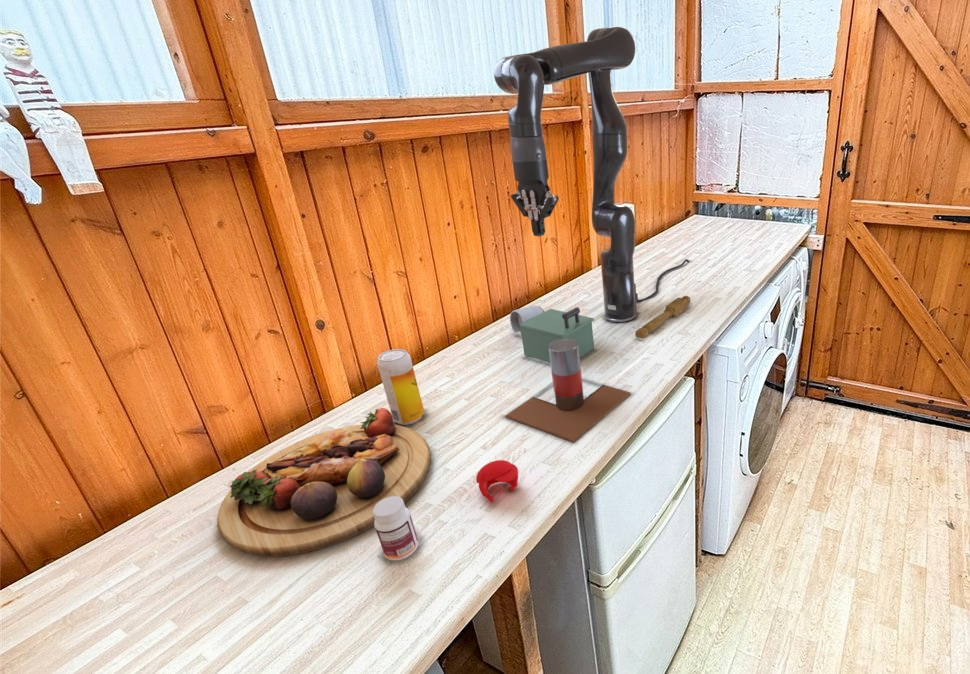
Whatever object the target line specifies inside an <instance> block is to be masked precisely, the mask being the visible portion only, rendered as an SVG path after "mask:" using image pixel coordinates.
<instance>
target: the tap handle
mask: <svg viewBox="0 0 970 674" xmlns="http://www.w3.org/2000/svg"><path fill="white" fill-rule="evenodd" d="M690 303H691V297H690V296H689V295H683V296H682V297H677V298H675V299H674V300H672V301H671V302H669V303H668V304H666V306H665V310H663V312H662V313H660V314H659V315H657V316H655V317H654V318H653V319H650V321H648V322H646V323H645V324H644V325H642V326H641V327H639V328H637V330H636V331H635V332H634V335H635V337H636V338H638V339H644V338H646V337H647V336H648V335H650V334H651V333H653V332H654V331H655V330H657V328H658V327H660V326H661V325H662V324H663V323H665V322H666V320H668V319H671V318H676V317H678V316H680V314H681V313H683V312H684V311H685V310H686V309H687V308H688V305H689V304H690Z"/></svg>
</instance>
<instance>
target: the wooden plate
mask: <svg viewBox="0 0 970 674" xmlns="http://www.w3.org/2000/svg"><path fill="white" fill-rule="evenodd" d="M359 423H360V424H355V425H348V426H344V427H339V428H334V429H331V430H327V431H323V432H321V433H317V434H315V435H311V436H309V437H306V438H304V439H301V440H299V441H296V442H294V443H292V444H290V445H289V446H286V447H285V448H282V449H281V450H278V451H277V452H275V453H272V454H271V455H270V456H269V457H267V458H265V459H264V460H262V461H260V462H259V463H258V464H256V465H255V466H254V467H252V468H251V469H250V470H248V471H244V472H243V473H240V474H239V475H238V476H237V477H236V478H234V480H232V482H231V484H230V486H229V487H230V489H229V491H227V494H226V495H225V497H224V499H223V500H222V502H221V504H220V506H219V510H218V513H217V514H218V515H217V518H216V519H217V529H218V532H219V534H220V536H221V538H222V539H223V540H224V541H225V542H226V543H227V544H228V545H229V546H231V547H232V548H233V549H235V550H238V551H240V552H242V553H246V554H249V555H253V556H259V557H283V556H292V555H300V554H305V553H308V552H312V551H317V550H321V549H324V548H327V547H330V546H333V545H336V544H338V543H340V542H343V541H346V540H348V539H350V538H352V537H355V536H357V535H359V534H361V533H363V532H365V531H366V530H369V529H370V528H372V527H374V521H375V518H374V514H373V508H374V506H375V505H376V504H377V503H378V502H379V501H381V500H383V499H385V498H387V497H392V496H397V497H400V498H402V499H403V502H404V504H406V502H407V501H408V500H409V499H410V498H411V497H412V496H414V494H415V493H416V492H417V491H418V489H419V488H420V487H421V486H422V484H423V482H424V481H425V478H426V477H427V474H428V472H429V469H430V466H431V460H432V454H431V449H430V446H429V444H428V442H427V441H426V439H425V438H424V437H423V436H422V435H421V434H420V433H418V432H417V431H415V430H414V429H411V428H409V427H406V426H404V425H401V424H394V420H393V417H392V414H391V411H390V410H389V409H388V408H385V407H380V408H375V410H374V413H373V412H371V411H369V413H367V416H365V421H361V422H359Z"/></svg>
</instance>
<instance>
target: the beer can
mask: <svg viewBox="0 0 970 674" xmlns="http://www.w3.org/2000/svg"><path fill="white" fill-rule="evenodd" d="M376 365H377V368H378V372H379V375H380V379H381V382H382V386H383V389H384V392H385V396H386V400H387V403H388V406H389V411H390V413H391V415H392V417H393V422H395V423H397V425H400V426H407V425H412V424H415V423H417V422H418V421H420V420H421V419H422V417H423V415H424V413H425V408H424V404H423V401H422V397H421V393H420V389H419V385H418V382H417V377H416V374H415V369H414V366H413V361H412V358H411V355H410V354H409V353H408V351H407V350H406V349H403V348H393V349H389V350H385V351H384V352H381V353H380V354H379V355H378V356H377V362H376Z"/></svg>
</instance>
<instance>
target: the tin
mask: <svg viewBox="0 0 970 674" xmlns="http://www.w3.org/2000/svg"><path fill="white" fill-rule="evenodd" d="M549 355H550V362H551V363H550V369H551V370H550V371H551V379H552V386H553V392H554V399H555V404H556V407H557V408H558V409H560V410H563V411H573V410H576V409H579V408H580V407H582V406H583V404H584V399H585V397H584V396H585V395H584V385H583V373H582V366H581V357H579V347H578V342H577V341H575V340H573V339H560V340H556V341H554V342H552V343H550V344H549Z"/></svg>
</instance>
